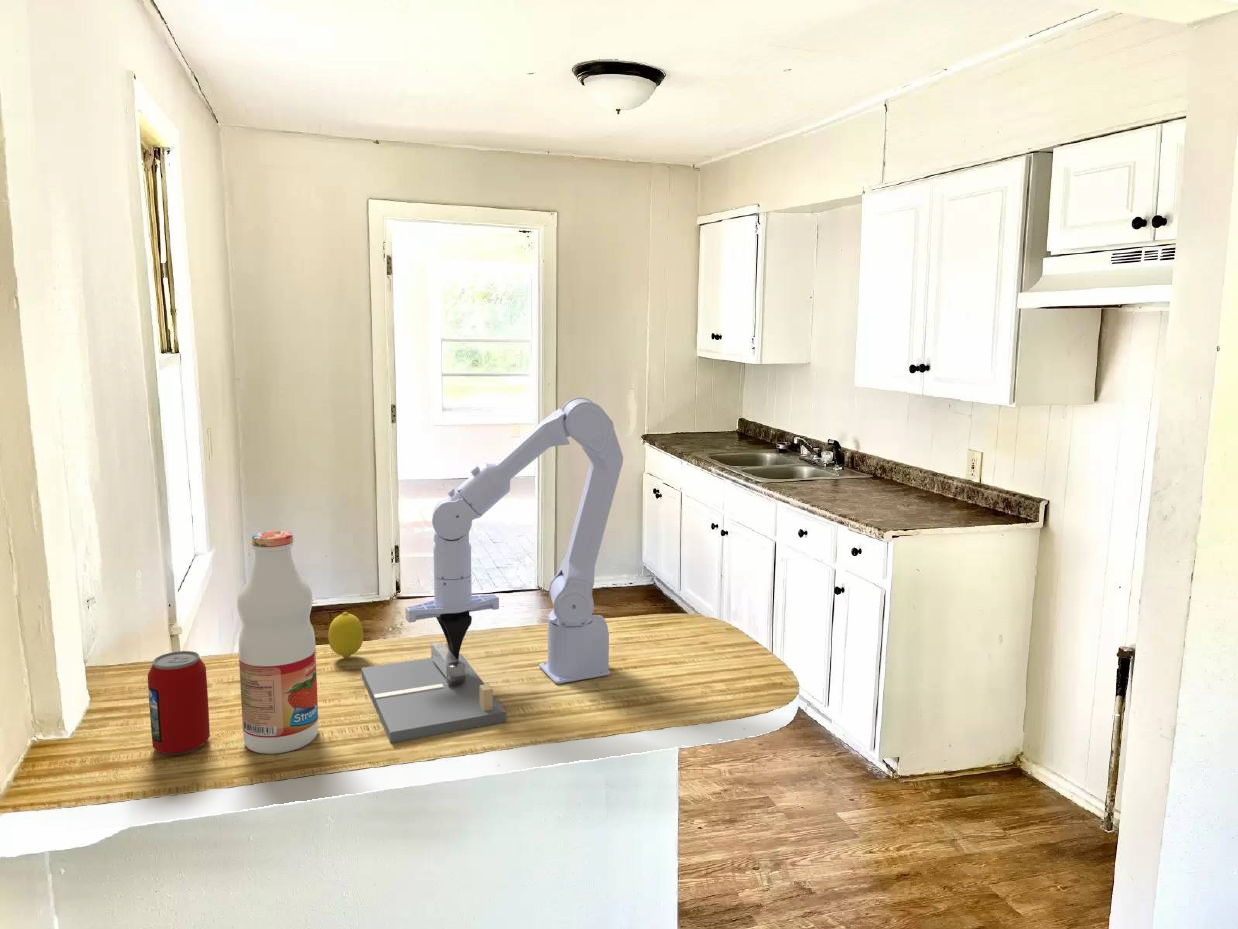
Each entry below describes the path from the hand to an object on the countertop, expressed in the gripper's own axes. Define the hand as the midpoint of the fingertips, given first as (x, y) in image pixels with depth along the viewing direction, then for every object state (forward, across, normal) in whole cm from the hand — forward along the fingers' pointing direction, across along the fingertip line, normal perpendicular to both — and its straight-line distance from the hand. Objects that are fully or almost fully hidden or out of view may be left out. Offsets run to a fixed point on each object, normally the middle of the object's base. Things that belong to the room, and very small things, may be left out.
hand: (453, 658), depth 136 cm
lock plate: (+3, +6, +6) cm, 9 cm away
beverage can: (+3, +39, +5) cm, 39 cm away
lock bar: (+1, +2, +1) cm, 2 cm away
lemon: (+3, +13, -16) cm, 21 cm away
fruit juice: (+3, +27, +9) cm, 29 cm away
